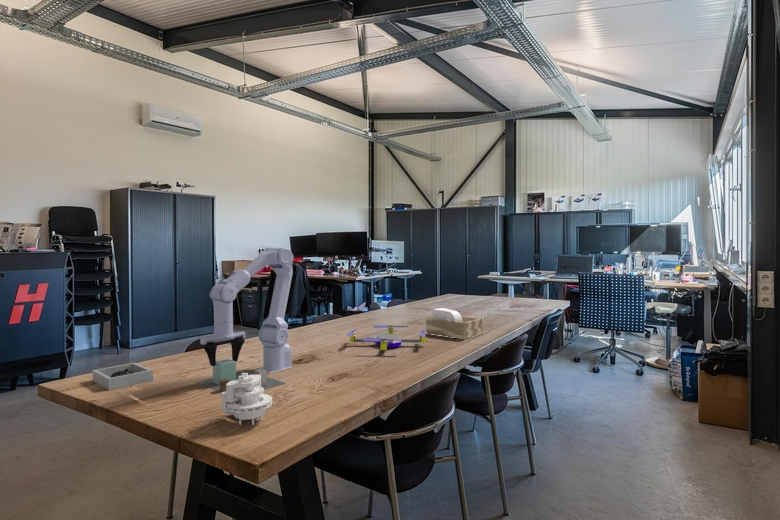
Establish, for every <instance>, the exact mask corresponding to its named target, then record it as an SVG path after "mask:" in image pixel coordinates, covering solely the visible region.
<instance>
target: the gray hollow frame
mask: <svg viewBox="0 0 780 520" xmlns="http://www.w3.org/2000/svg"><path fill="white" fill-rule="evenodd" d="M125 369H128V371H131V372H132V374H128V375H123V376H118V377H113V378H111V375H112V374H113V373H115V372H119V371H125ZM153 381H154V369H151V368H149V367H147V366H144V365H141V364H139V363H136V362H132V363H131V362H130V363H125V364H119V365H114V366H109V367H103V368H98V369H94V370H93V369H92V382H94V383H96V384H98V385H99V386H101V387H102V388H104V389H106V390H108V391H112V390H117V389H121V388H125V387H131V386H134V385H139V384H145V383H149V382H153Z"/></svg>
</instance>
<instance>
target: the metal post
mask: <svg viewBox="0 0 780 520" xmlns="http://www.w3.org/2000/svg"><path fill="white" fill-rule="evenodd" d="M254 373H255V375H261V387H265V386H267V377H268V376H267V370H265V369H259V368H258V369H254Z"/></svg>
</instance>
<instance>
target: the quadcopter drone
mask: <svg viewBox="0 0 780 520" xmlns="http://www.w3.org/2000/svg"><path fill="white" fill-rule="evenodd" d="M372 328H376V329H379V328H380V329H386V328H387V332H381V333H376V334H374V335H373V337H365V338H356V334H355V333H354V332H356V331H357V330H358V328H355V329H353V330H352V331H349V332H348V333H347V337H349V342H350V343H374V344H377V345H376V346H378V345H380V346H379V347H380V350H381V351H387V349H392V347H393V348H398V347H401V346H402V343H413V344H414V343H415V344H416V343H418V344H419V343H427V336H426V328H423V329H421V331H420V333H419V334H420V335H419V339H415V338H414V339H413V338H412V339H411V338H410V339H407V338H404V339H402V337H401V336H400V335H398V334H396V333H395V334H394V328H409V326H408V325H388V324H384V325H382V324H380V325H379V324H378V325H377V324H376V325H374V324H373V327H372ZM397 346H398V347H397ZM387 347H388V348H387Z"/></svg>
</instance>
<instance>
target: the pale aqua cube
mask: <svg viewBox="0 0 780 520" xmlns="http://www.w3.org/2000/svg"><path fill="white" fill-rule="evenodd" d="M236 373H237V361H233V360H232V359H229V358H226V359H221V360H216V365H215V366H212V378H213V383H216V384H219V380H223V379H230V380H232V381H234V380H236ZM219 385H220V384H219Z"/></svg>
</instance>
